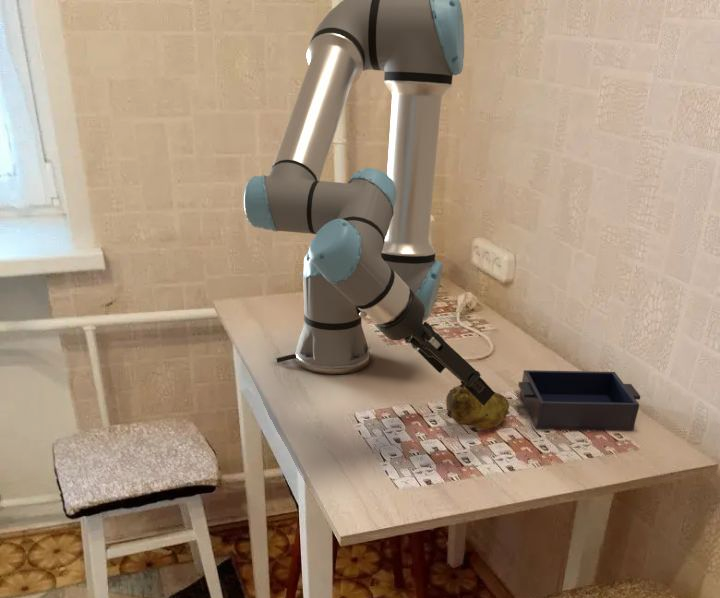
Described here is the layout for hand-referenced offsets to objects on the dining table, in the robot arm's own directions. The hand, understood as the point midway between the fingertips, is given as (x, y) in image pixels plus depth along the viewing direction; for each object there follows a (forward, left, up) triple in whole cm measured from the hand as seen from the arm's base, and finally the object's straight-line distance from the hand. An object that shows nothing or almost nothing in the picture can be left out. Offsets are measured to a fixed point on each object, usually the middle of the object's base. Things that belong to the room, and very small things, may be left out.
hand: (465, 382), depth 124 cm
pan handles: (+22, +8, -5) cm, 24 cm away
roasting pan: (+22, +8, -9) cm, 25 cm away
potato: (+3, +2, -9) cm, 10 cm away
